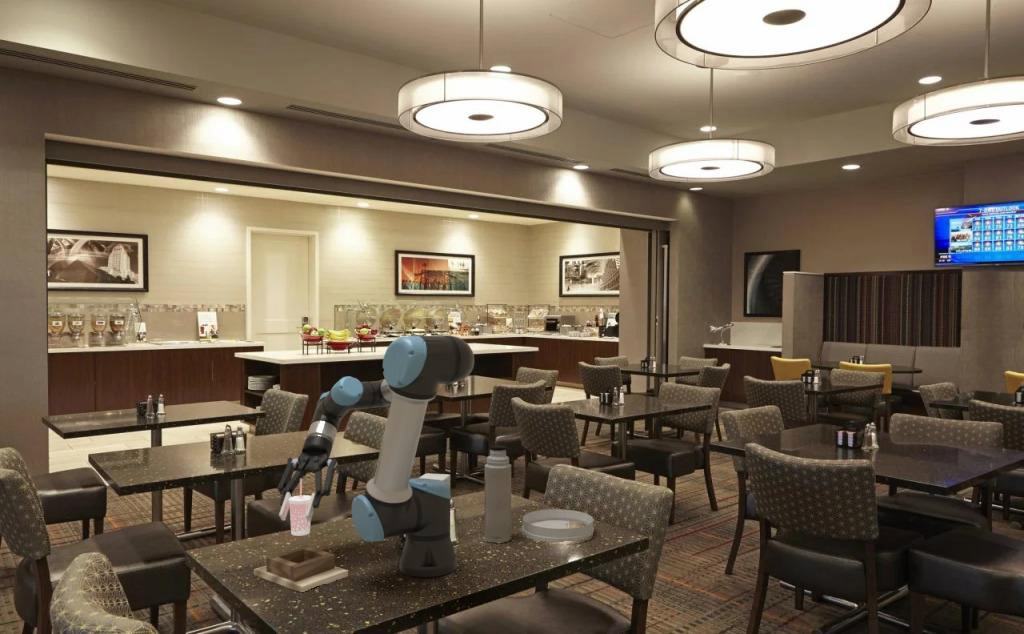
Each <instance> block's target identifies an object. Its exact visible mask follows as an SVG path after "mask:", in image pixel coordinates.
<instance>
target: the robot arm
mask: <svg viewBox="0 0 1024 634" xmlns="http://www.w3.org/2000/svg"><path fill="white" fill-rule="evenodd" d="M474 365H475V355H474V352H473V350H472V348H471V346H470V345H469V344H468V343H467V342H466V341H465V340H463V339H462V338H460V337H457V336H454V335H424V336H423V335H409V336H401V337H398V338H396V339H395V340H393V341H392V342H391V343H389V345H388V346H387V348H386V350H385V352H384V356H383V361H382V369H384V370H383V372H382V374H383V377H384V378H383V379H380V380H375V381H360V380H359V379H358V378H356V377H352V376H349V375H348V376H343V377H342V378H340V379H339V380H337V382H336V383H335V384H333V386H332V388H331V389H330V391H329V390H328V391H327V392H323V393H322V394H321V395H320V396H319V399H318V401H317V402H316V408H315V411H314V414H313V417H312V419H311V423H310V426H309V429H308V431H307V434H306V438H305V440H304V444H303V446H302V450H301V453H300V455H299V456H298V457H297V458H292V457H288V458H287V462H286V466H285V470H284V472H283V474H282V476H281V478H280V480H279V483H278V485H277V488H276V489H277V491H278V493H279V495H282V496H281V498H280V502H279V504H280V507H281V508H280V511H279V514H278V516H279V518H280V519H281V521H283V522H284V521H286V519H287V515H288V513H289V511H290V503H289V501H288V499H289V498H290V497H293V496H292V494H293V492H294V491H295V490H296V488H297V487H298V486H299V485H300V478H302V479H303V478H304V477H306V476H307V475H308V474H310V473H312V474H314V482H315V483H314V484H315V489H314V491H315V492H312V493H311V495H310V496H311V499H310V502H309V505H308V508H307V512H306V515H305V516H306V518H307V520H308V521H311V522H312V519H313V517H314V512H315V509H319V507H320V503H321V500H322V498H323V497H325V496H326V497H329V496H330V495H331V492H332V487H333V481H334V478H335V477H334V476H335V473H336V470H337V469H338V467H339V464H338V460H337V459H336V458H332V459H330V456H331V453H332V449H333V448H334V447H333V445H334V443H335V440H336V437H337V434H338V430H339V427H340V424H341V420H342V419H343V418H344V417H345V416H346V415H347V414H348V413H349V412H350V411H351V410H352V411H353V410H361V409H371V408H373V409H374V408H384V407H385V408H387V407H388V408H389V410H388V414H387V415H388V416H387V418H386V419H387V420H386V425H385V429H384V433H383V436H382V442H381V447H380V450H379V455H378V459H377V460H378V461H377V464H376V469H375V473H374V477H373V478H371V479H369V480H368V481H367V482H366V485H365V490H364V493H363V494H358V495H357V496H355V497H354V498H353V500H352V502H351V517H352V522H353V525H354V528H355V531H356V532H357V534H358V535H359V537H361V538H362V539H363V541H365V542H368V543H374V542H382V541H384V540H388V539H391V538H396V537H399V536H400V537H401V536H403V535H405V542H404V545H403V548H402V552H401V553H402V554H401V556H400V558H399V571H400V572H401V573H402V574H404V575H406V576H410V577H416V578H417V577H418V578H434V577H441V576H444V575H447V574H451V573H452V572H454V571H455V570H456V569H457V567H458V558H457V555H456V553H455V550H454V546H453V542H452V537H451V501H452V497H451V486H450V487H449V485H448V484H447V483H446V482H444V481H440V480H435V479H425V478H420V477H416V478H411V475H412V470H413V466H414V463H415V457H416V453H417V450H418V445H419V441H420V438H421V437H420V436H421V434H422V429H423V425H424V421H425V416H426V412H427V407H428V404H429V402H430V401H432V400H434V399H435V398H436V397H437V393H438V389H439V386H440V385H445V386H448V385H453V384H456V383H458V382H462V381H464V380H465V379H466V378H467V377H469V376H470V374H471V373H472V372H473V370H474ZM298 464H299V465H298ZM297 465H298V467H297ZM326 466H327V471H326V475H325V479H324V484H323V469H324V468H325V467H326ZM295 469H297V470H296V472H295V473H294V471H295Z"/></svg>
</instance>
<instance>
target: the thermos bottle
mask: <svg viewBox="0 0 1024 634" xmlns="http://www.w3.org/2000/svg"><path fill="white" fill-rule="evenodd" d="M489 449H490V450H489V455H488V456H487V457H486V464H484V541H485V540H486V541H488V542H505V541H508V540H510V539H511V540H512V464H510V457H509V456H508V455H507V446H506V445H502V444H500V445H498V444H497V445H490V447H489ZM486 541H485V542H486ZM488 542H487V543H488Z"/></svg>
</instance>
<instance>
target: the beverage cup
mask: <svg viewBox="0 0 1024 634" xmlns="http://www.w3.org/2000/svg"><path fill="white" fill-rule="evenodd" d="M302 494H303V478H300V482H299V495H295V496H292V497H290V498H289V499H288V501H289V503H290V507H289V515H290V516H289V517H290V533H291V535H292V536H297V537H298V536H299V537H300V536H302V537H303V536H307V535H309V534H311V522H312V520H311V521H308V520H307V518H306V516H305V515H306V512H307V508H308V505H309V502H310V499H311V495H308V494H307V495H305V494H303V495H302Z"/></svg>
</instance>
